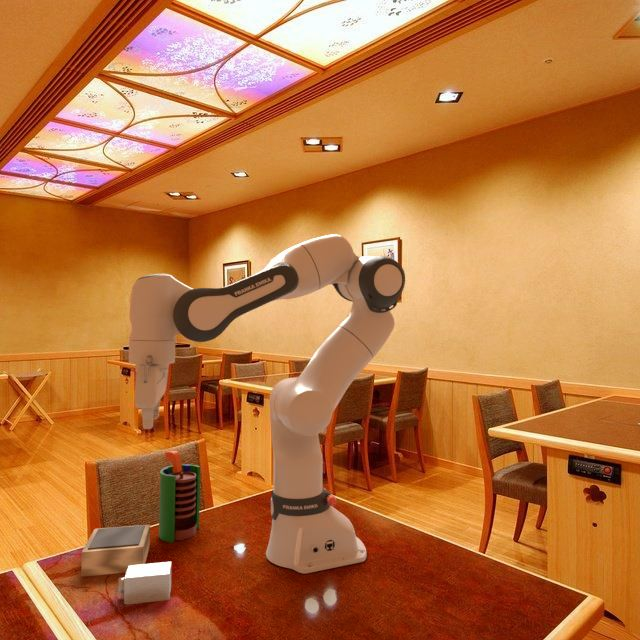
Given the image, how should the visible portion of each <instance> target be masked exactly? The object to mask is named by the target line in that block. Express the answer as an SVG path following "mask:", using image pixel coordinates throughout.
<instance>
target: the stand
mask: <svg viewBox="0 0 640 640" xmlns="http://www.w3.org/2000/svg"><path fill="white" fill-rule="evenodd" d="M150 545H151V524H140V525H128V526H126V525H125V526H115V527H113V526H112V527H102V528H101V527H99V528H94V529H93V531H92V532H91V534H90V537H89V538H88V539H87V541H86V544H85V545H84V547H83V549H82V550H81V559H80V560H81V565H80V566H81V568H80V569H81V570H80V571H81V572H80V573H81V577H82V578H84V577H93V576H104V575H114V574H123V573H125V574H126V572H127V569H128V566H129V565H140V564H146V561H147V558H148V553H149V551H150V548H151V547H150Z"/></svg>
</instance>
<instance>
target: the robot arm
mask: <svg viewBox="0 0 640 640" xmlns="http://www.w3.org/2000/svg"><path fill="white" fill-rule="evenodd" d="M405 284H406V274H405V270H404V268H403V267H402V265H401V264H400V263H399V262H398V261H397V260H395V259H393V258H391V257H389V256H385V255H364V256H363V255H362V256H358V255H356V253H355V252H354V250H353V247H352V245H351V244H350V242H349V241H348V239H346V238H345V237H344V236H342V235H340V234H336V233H334V234H328V235H322V236H319V237H315V238H312V239H309V240H306V241H303V242H300V243H297V244H295V245H293V246H291V247H289V248H286V249H285V250H283V251H282V252H280V253H279V254H277V255H275V256H274V257H272V259H270V261H269V263H267V265H265V267H264V268H263V269H261V270H260V271H258V272H257V273H255V274H252V275H250V276H247V277H245V278H243V279H240V280H239V281H236V282H234V283H233V282H232V283H231V284H228V285H225V286H223V287H217V288H216V287H215V288H214V287H212V288H211V287H198V288H197V287H196V288H193V287H190V286H188V285H186V284H185V283H183V282H181V281H180V280H177V278H175V277H174V276H173V275H171V274H169V273H155V274H148V275H145V276H141V277H140V278H139V277H138V279H136V280H135V281H134V283H133V285H132V286H131V287H132V288H131V293H130V300H129V320H130V324H131V325H130V326H131V328H130V329H131V330H130V335H129V337H128V338H129V340H128V363H129V364H130V365H134V366H135V368H134V371H135V387H134V388H135V389H134V405H135V408H137V409H141V410H140V412H141V417H142V428H143V430H151V429H153V427H154V421H156V420H157V419H159V417H160V406H161V399H162V397H163V396H164V395H165V393H166V391H167V384H168V377H169V367H170V365H171V364H175V363H176V337H177V336H178V335H182V336H183V337H184V338H186V339H188V340H190V341H192V342H196V343H205V342H210V341H213V340H214V339H216V338H218V337H219V336H221V335H222V334H223V332H225V330H226V329H227V328H228V327H229V325H231V323H232V322H233V321H234V320H235V319H238V318H239V317H241V316H243V315H245V314H247V313H249V312H251V311H253V310H256V309H258V308H259V307H262V306H264V305H267V304H269V303H272V302H275V301H278V300H291V299H296V298H300V297H304V296H307V295H309V294H312V293H314V292H317V291H319V290H321V289H323V288H325V287H327V286H329V285H332V286H333V287H334V289H335V291H336V292H337V294H338V295H339V296H340V297H341V298H343V299H344V300H346V301H347V302H348V301H349V302H352V304H351V308H350V311H349V313H348V315H347V317H346V318H345V319H343V320H342V321H341V322H340V323H339V325H337V327H336V328H334V330H333V331H332V332H331V333H330V334H329V336H327V337H326V339H325V340H324V341H323V342H322V343H320V345H319V346H318V347H317V348H316V350H315V351H314V352H313V355H312V357H311V358H310V360H309V362H308V364H307V365H306V366H305V368H304V369H303V370H302V372H301V373H300V375H299V376H298V377H288V378H284V379H282V380H280V381H278V382H277V383H276V384H275V385H273V387H272V389H271V391H270V393H269V402H268V403H269V417H270V419H269V420H270V433H271V441H272V445H271V446H272V453H273V455H272V456H273V458H272V459H273V489H272V490H271V497H270V514H271V519H272V520H271V528H270V535H269V541H268V545H267V548H266V551H265V557H266V559H267V560H268V561H269V562H270V563H272V564H274V565H276V566H279V567H283V568H286V569H291V570H294V571H295V572H297V573H299V574H310V573H316V572H319V571H324V570H330V569H334V568H339V567H344V566H349V565H355V564H358V563H364V562H365V561H366V559H367V556H368V554H367V548H366V546H365V544H364V543H363V541H362V540H361V539H360V538H359V537H357V536H356V531H355V528H354V525H353V524H352V522H351V520H350V519H349V518H348V517H347V516H346V515H345V514H343V513H342V512H340V511H339V510H337V509H336V508H335V506H336V505H337V502H338V499H337V498H336V497H335V495H334V494H331V492H330V491H328V489H326V488H325V487H323V465H324V464H323V462H324V459H323V453H322V452H323V451H322V449H321V443H320V438H319V434H320V433H323V432H324V431H325V429H327V427H328V426H329V425H330V423H331V420H332V418H333V413H334V411H335V410H336V408H337V406H338V405H339V403H340V402H341V400H342V398H343V397H344V395H345V393H346V391H347V390H348V389H349V387H350V386H351V384H352V383H353V381H355V379H356V378H357V377H358V376H359V375H360V373H362V371H363V370H364V369H365V368H366V366H368V364H370V362H371V361H372V360H373V359H374V357H376V355H377V354H379V352H380V350H381V349H382V348H383V346H384V345H385V343H386V342H387V340H388V339H389V337H390V336H391V333H392V332H393V330H394V329H395V317H394V316H393V314H392V312H391V311H392V310H393V309H395V307H397V305H398V302H399V301H398V300H399V298H400V297H401V295H402V293H403V291H404V288H405Z"/></svg>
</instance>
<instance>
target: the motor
mask: <svg viewBox="0 0 640 640" xmlns="http://www.w3.org/2000/svg"><path fill="white" fill-rule="evenodd" d="M164 456H165V457H164V461H165V462H169V461H170V462H171V463H172V465H170V466H169V465H168V466H165V467H163V468H162V469H160V471H159V506H158V508H159V510H158V511H159V513H158V538H159V539H160V540H161V541H163V542H167V543H174V542H175V541H183V540H187V539H191V538H193V537H194V536H196V535H197V529H199V528H200V504H201V503H200V499H201V498H200V496H201V494H200V493H201V466H199V465H196V464H189V463H188V464H186V463H182V459H181V456H180V453H179V451H177V450H168V451H166V452H165V453H164Z"/></svg>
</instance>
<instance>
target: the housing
mask: <svg viewBox="0 0 640 640" xmlns="http://www.w3.org/2000/svg"><path fill="white" fill-rule="evenodd" d="M171 590H172V561H162V562H153V563H145V564H140V565H129V566H128V569H127V572H126V573H125V575H124V576H123V577H118V580H117V587H116V591H117V592H116V593H117V595H122V594H124V595H123V602H124V603H123V605H124V604H126V605H133V604H143V603H151V602H153V603H154V602H162V601H169V600H170V598H171Z"/></svg>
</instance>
